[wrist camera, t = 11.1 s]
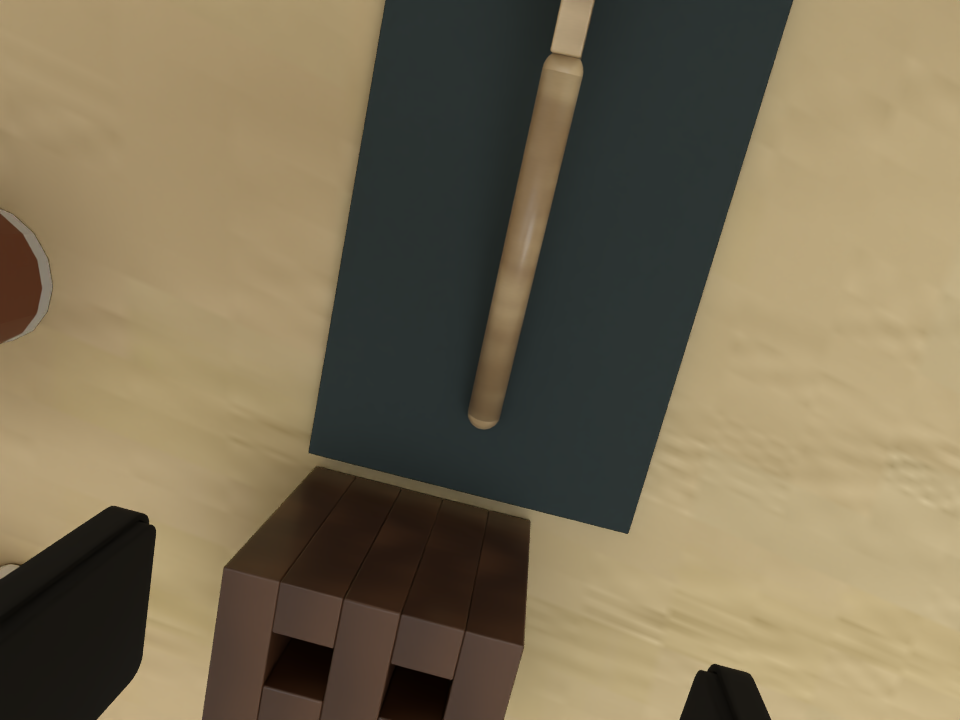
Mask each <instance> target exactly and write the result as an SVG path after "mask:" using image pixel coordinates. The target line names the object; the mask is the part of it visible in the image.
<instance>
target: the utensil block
mask: <svg viewBox="0 0 960 720" xmlns="http://www.w3.org/2000/svg"><path fill="white" fill-rule="evenodd" d="M530 525H531V522H530V521H529V520H525V519H521V518H517V517H513V516H509V515H506V514H502V513H498V512H494V511H488V510H486V509H482V508H478V507H474V506H470V505H466V504H462V503H458V502H454V501H450V500H446V499H443V500H442V499H441V498H438V497H434V496H430V495H426V494H422V493H418V492H414V491H410V490H406V489H402V490H401V488H400V487H396V486H392V485H388V484H384V483H380V482H376V481H372V480H368V479H364V478H360V477H355V476H352V475H348V474H344V473H340V472H336V471H332V470H328V469H324V468H321V467H315V468H314V469H313V471H312V472H311V473H310V474H309V475H308V476H307V477H306V478H305V479H304V480H303V481H302V483H301V484H300V485H299V486H298V487H297V488H296V489H295V490H294V491H293V492H292V493H291V495H290V496H289V497H288V498H287V499H286V500H285V501H284V502H283V503H282V504H281V505H280V507H279V508H278V509H277V510H276V511H275V512H274V513H273V514H272V515H271V516H270V517H269V519H268V520H267V521H266V522H265V523H264V524H263V525H262V526H261V527H260V528H259V530H258V531H257V532H256V533H255V534H254V535H253V536H252V537H251V538H250V539H249V540H248V542H247V543H246V544H245V545H244V546H243V547H242V548H241V549H240V550H239V551H238V552H237V554H236V555H235V556H234V557H233V558H232V559H231V560H230V561H229V562H228V563H227V564H226V566H225V567H224V570H223V577H222V584H221V591H220V598H219V605H218V611H217V618H216V625H215V632H214V639H213V646H212V653H211V660H210V667H209V674H208V681H207V688H206V695H205V702H204V709H203V716H202V720H504V717H505V713H506V710H507V706H508V703H509V699H510V695H511V692H512V688H513V685H514V681H515V677H516V674H517V670H518V667H519V663H520V660H521V656H522V652H523V649H524V638H525V619H526V600H527V581H528V562H529V544H530Z"/></svg>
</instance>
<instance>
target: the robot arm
mask: <svg viewBox="0 0 960 720" xmlns="http://www.w3.org/2000/svg"><path fill="white" fill-rule="evenodd" d="M155 538H156V529H155V527H154V526H153V525H150V524H149V519H148V516H147V515H145V514H143V513H139V512H136V511H132V510H128V509H124V508H120V507H117V506H111V507H108V508H106V509H105V510H103V511H102V512H100V513H99V514H97V515H96V516H94V517H93V518H91V519H90V520H88V521H87V522H85V523H84V524H82V525H81V526H79V527H78V528H76V529H75V530H73V531H72V532H70V533H69V534H67V535H66V536H64V537H63V538H61V539H60V540H58V541H57V542H55V543H54V544H52V545H51V546H49V547H48V548H46V549H45V550H43V551H42V552H40V553H39V554H37V555H36V556H34V557H33V558H31V559H30V560H28V561H27V562H25V563H24V564H22V565H21V566H19V567H18V568H16V569H15V570H13V571H12V572H10V573H9V574H7V575H6V576H4V577H3V578H1V579H0V720H97V719H98V718H99V716H100V715H101V714H102V713H103V712H104V711H105V710H106V709H107V707H108V706H109V705H110V704H111V703H112V702H113V701H114V700H115V698H116V697H117V696H118V695H119V694H120V693H121V692H122V691H123V690H124V688H125V687H126V686H127V685H128V684H129V683H130V682H131V680H132V679H133V678H134V676H135V674H136V673H137V671H138V669H139V666H140V663H141V661H142V656H143V647H144V637H145V628H146V619H147V610H148V601H149V592H150V583H151V574H152V565H153V556H154V547H155ZM680 720H771V718H770V716H769V714H768V711H767V709H766V707H765V704H764V702H763V700H762V698H761V695H760V693H759V691H758V688H757V686H756V684H755V682H754V679H753V678H752V676H751V674H749V673H747V672H743V671H740V670H736V669H732V668H728V667H724V666H721V665H717V664H713V665H711V666H710V667H709V669H708V671H703V670H700V671H698V672H697V674H696V676H695V678H694V681H693V684H692V687H691V689H690V692H689V695H688V698H687V701H686V703H685V706H684V709H683V712H682V714H681V717H680Z"/></svg>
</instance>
